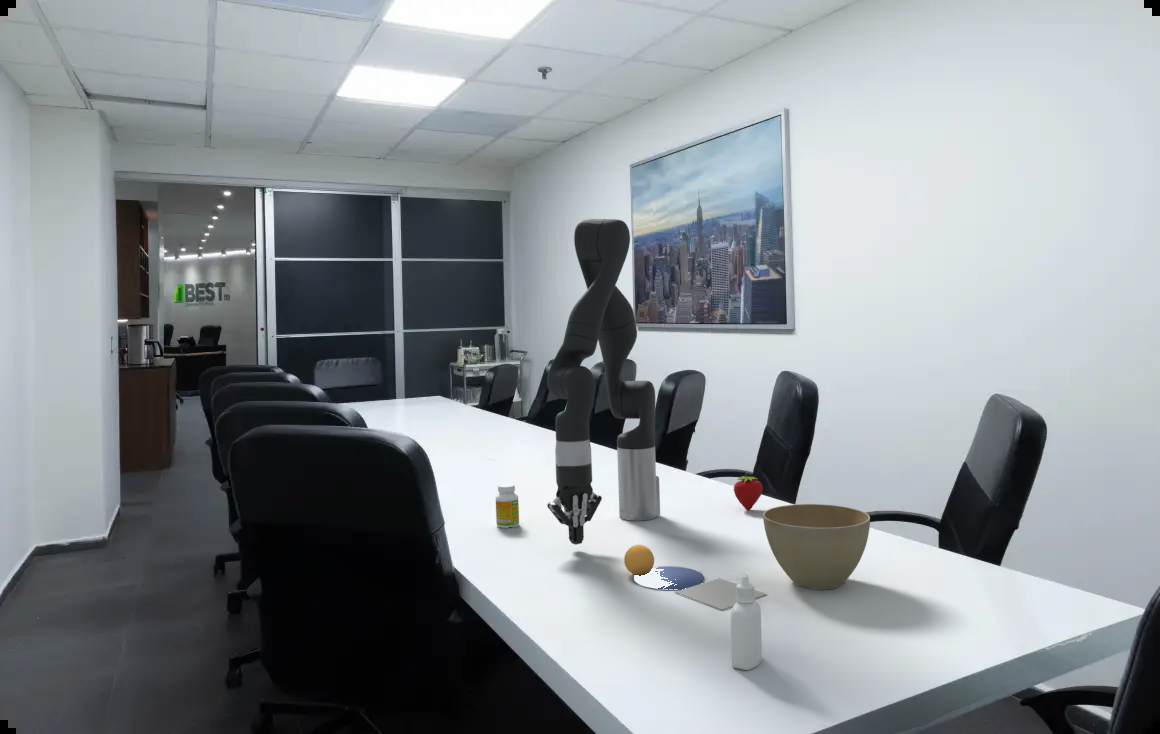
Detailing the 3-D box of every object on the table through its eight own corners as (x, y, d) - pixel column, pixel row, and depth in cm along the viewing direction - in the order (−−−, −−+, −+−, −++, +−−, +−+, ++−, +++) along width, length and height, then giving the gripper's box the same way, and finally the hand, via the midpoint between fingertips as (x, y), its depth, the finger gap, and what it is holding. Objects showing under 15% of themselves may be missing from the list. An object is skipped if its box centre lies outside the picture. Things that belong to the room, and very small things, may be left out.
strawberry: (768, 510, 189) (767, 470, 188) (742, 514, 186) (741, 473, 186) (754, 505, 194) (753, 466, 194) (729, 509, 192) (728, 469, 191)
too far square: (719, 579, 139) (719, 578, 139) (767, 594, 130) (767, 593, 130) (674, 593, 133) (674, 591, 133) (721, 610, 124) (721, 609, 124)
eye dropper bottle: (720, 661, 105) (718, 575, 105) (753, 652, 108) (751, 568, 107) (740, 673, 101) (738, 584, 101) (773, 664, 104) (772, 576, 103)
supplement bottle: (515, 528, 180) (514, 487, 179) (493, 528, 181) (492, 487, 180) (521, 523, 185) (520, 483, 185) (500, 522, 186) (499, 482, 186)
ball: (643, 537, 146) (661, 549, 142) (641, 563, 147) (659, 576, 143) (619, 543, 143) (637, 556, 139) (617, 570, 144) (634, 584, 140)
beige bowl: (869, 570, 141) (868, 505, 141) (872, 604, 124) (871, 530, 124) (769, 563, 147) (768, 501, 147) (759, 595, 130) (757, 524, 130)
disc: (670, 563, 150) (670, 562, 150) (719, 579, 139) (719, 578, 139) (618, 577, 142) (618, 576, 142) (666, 595, 132) (666, 594, 132)
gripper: (588, 455, 166) (590, 534, 167) (537, 463, 159) (540, 545, 159) (609, 459, 160) (612, 541, 161) (557, 467, 153) (560, 553, 153)
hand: (576, 543), depth 160 cm, fingers closed
